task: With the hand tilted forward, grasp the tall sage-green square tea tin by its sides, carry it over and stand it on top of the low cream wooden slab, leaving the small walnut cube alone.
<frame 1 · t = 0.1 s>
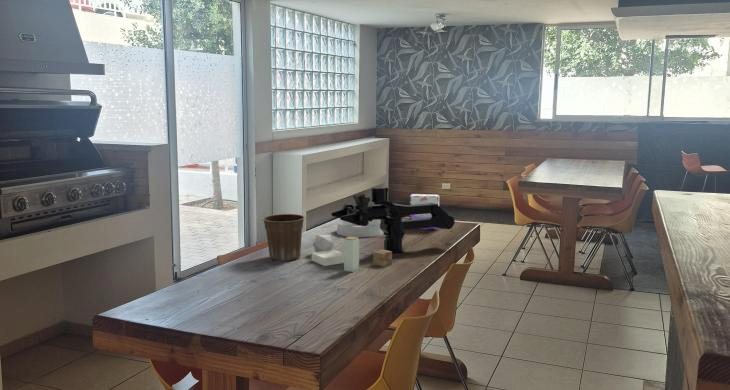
hand: (335, 216, 254), 17 cm above the table, tool horizontal, fingers open, 9 cm apart
tea tin: (351, 270, 238), on the table
plant pot: (284, 258, 257), on the table
die: (323, 254, 262), on the table
candy box: (424, 228, 315), on the table
dish: (360, 233, 305), on the table
walnut cube: (382, 264, 246), on the table
slab: (329, 261, 251), on the table
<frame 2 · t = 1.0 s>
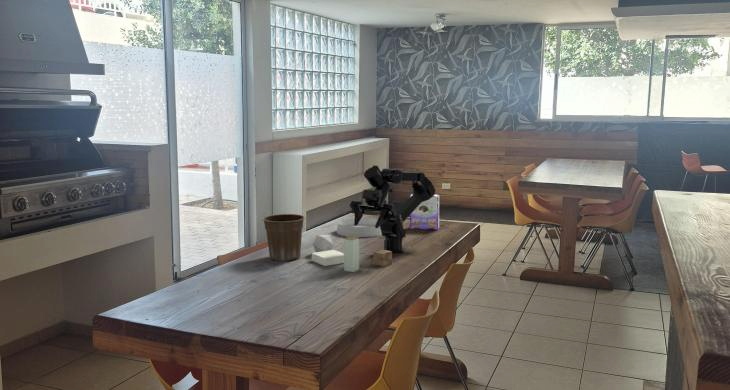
hand: (365, 226, 248), 14 cm above the table, tool tilted 45°, fingers open, 9 cm apart
nothing on the table moved.
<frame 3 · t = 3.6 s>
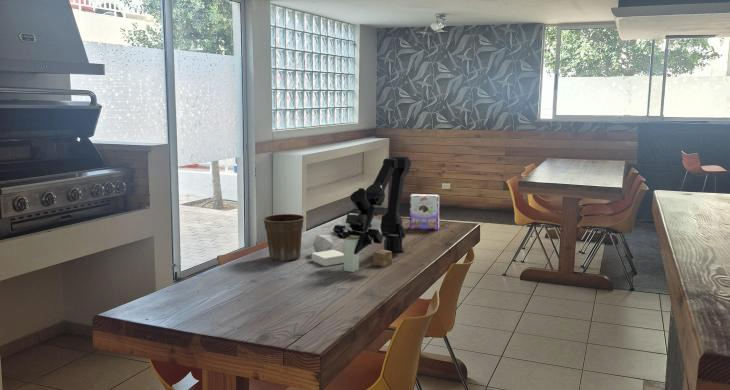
hand: (349, 253, 236), 7 cm above the table, tool tilted 45°, fingers closed on tea tin, 4 cm apart
tea tin: (351, 269, 238), on the table, touching gripper
everything else where it was.
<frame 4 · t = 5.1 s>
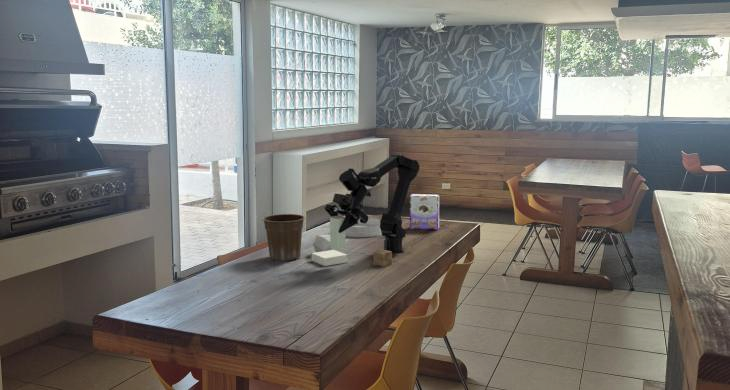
hand: (335, 231, 241), 13 cm above the table, tool tilted 45°, fingers closed on tea tin, 4 cm apart
tea tin: (338, 248, 243), point 7 cm above the table, touching gripper
everything else where it was.
when the fingers open (10 cm above the table, at t = 6.9 s): tea tin stays where it is, resting on slab.
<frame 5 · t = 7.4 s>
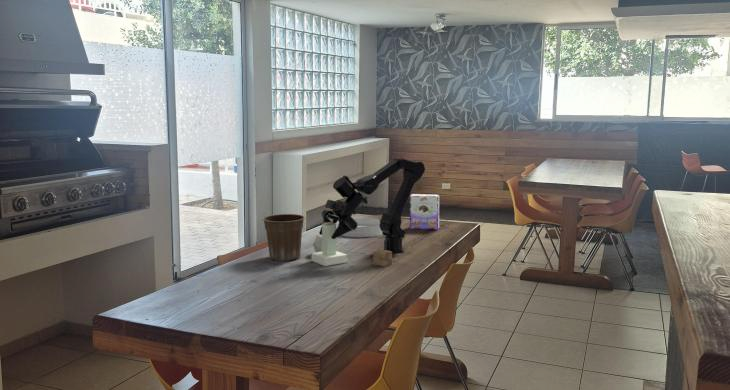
hand: (326, 236, 248), 10 cm above the table, tool tilted 45°, fingers open, 9 cm apart
tea tin: (329, 253, 250), point 3 cm above the table, touching slab
everything else where it was.
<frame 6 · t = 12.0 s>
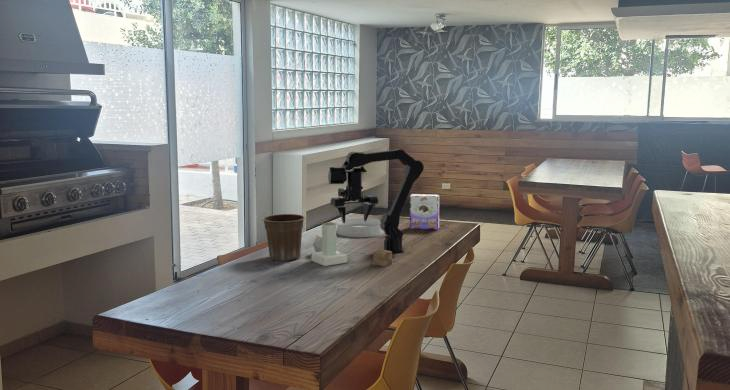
hand: (354, 222, 261), 13 cm above the table, tool pointing down, fingers open, 9 cm apart
nothing on the table moved.
at the end: tea tin inside the target area on the slab (0.0 cm from its centre), point 3.0 cm above the slab's base; tea tin tilted 0°; the gripper is holding nothing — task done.
